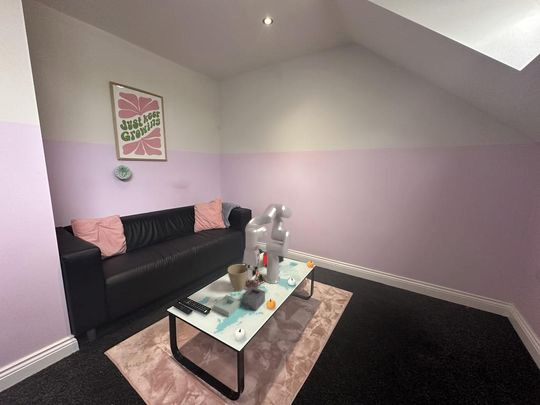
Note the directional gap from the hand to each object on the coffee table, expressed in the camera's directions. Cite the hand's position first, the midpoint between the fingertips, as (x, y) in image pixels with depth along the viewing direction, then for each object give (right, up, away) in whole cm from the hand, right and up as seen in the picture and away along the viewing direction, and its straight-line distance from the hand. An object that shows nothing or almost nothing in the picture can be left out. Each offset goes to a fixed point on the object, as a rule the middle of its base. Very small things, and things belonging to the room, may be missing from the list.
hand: (251, 274), depth 133 cm
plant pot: (-12, -18, +20) cm, 30 cm away
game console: (+16, -11, +60) cm, 63 cm away
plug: (0, -3, +1) cm, 3 cm away
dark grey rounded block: (+1, -21, +4) cm, 21 cm away
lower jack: (-15, -21, 0) cm, 26 cm away
